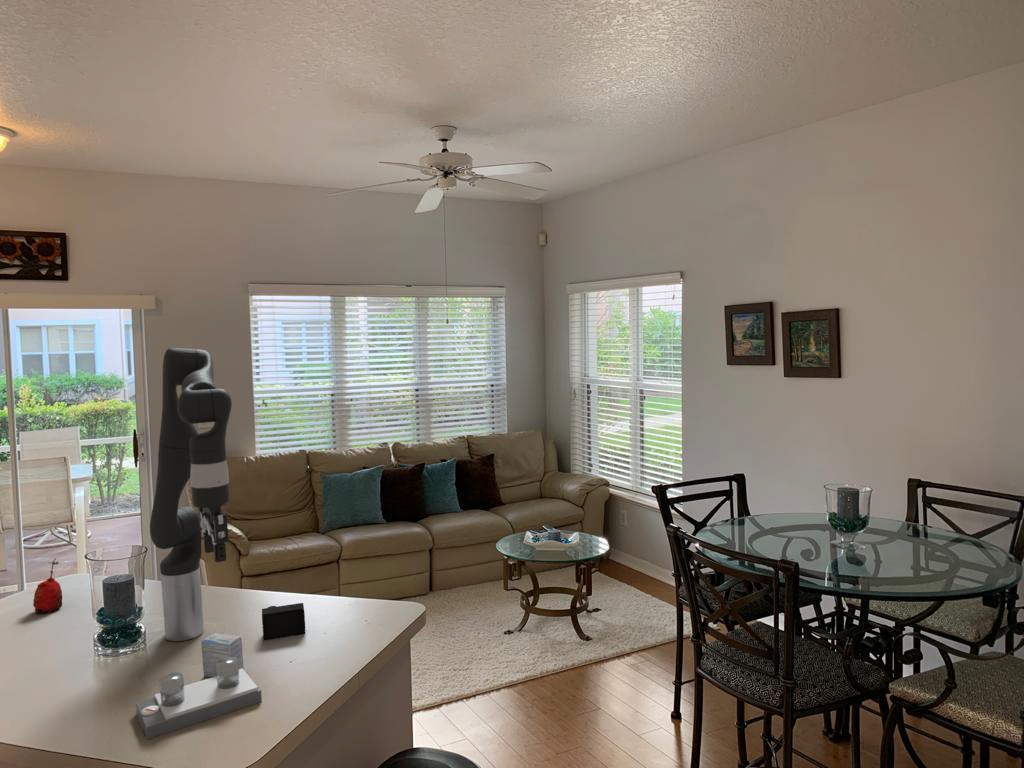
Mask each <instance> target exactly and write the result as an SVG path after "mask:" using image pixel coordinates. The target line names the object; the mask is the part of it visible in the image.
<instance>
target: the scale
mask: <svg viewBox="0 0 1024 768" xmlns="http://www.w3.org/2000/svg"><path fill="white" fill-rule="evenodd" d="M239 681H240V682H239V684H238V685H237V686H235V687H233V688H229V689H220V688H218V686H217V676H215V677H209V678H205V679H202V680H199V681H196V682H192V683H189V684H186V685H185V684H184V692H185V700H184V701H183V702H182V703H180V704H178V705H176V706H172V707H164V706H162V704H161V693H160V692H159V693H155V694H154V696H153V697H150V698H146V699H143V700H140V701H136V702H135V708H136V710H135V711H136V716H137V718H138V720H139V722H140V724H141V727H142V730H143V731H144V734H145V736H146V739H147V740H150V739H152V738H155V737H156V738H157V737H158V736H161V735H164V734H168V733H170V732H174V731H176V730H179V729H182V728H186V727H188V726H191V725H195V724H198V723H200V722H203V721H206V720H210V719H212V718H213V719H214V718H216V717H218V716H221V715H225V714H228V713H230V712H231V713H232V712H234V711H237V710H239V709H242V708H246V707H249V706H252V705H255V704H258V703H262V702H263V699H262V698H263V697H262V690H261V689H260V687H259V686H258V685H257V684H256V682H255V681H254V680H253V679H252V677H251V676H250V675H249V674H248V672H247V671H246V670H245V668H244V669H243V668H242V669H239Z"/></svg>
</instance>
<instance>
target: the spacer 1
mask: <svg viewBox="0 0 1024 768" xmlns="http://www.w3.org/2000/svg"><path fill="white" fill-rule="evenodd" d="M158 682H159V691H160V692H159V693H161V704H162V706H164V707H172V706H176V705H178V704H180V703H182V702H183V701H184V700H185V692H184V686H185V682H184V674H183V673H182V672H176V671H175V672H170V673H167V674H165V675H163V676H162V677H161V676H160V678H159V681H158Z"/></svg>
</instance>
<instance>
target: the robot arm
mask: <svg viewBox="0 0 1024 768" xmlns="http://www.w3.org/2000/svg"><path fill="white" fill-rule="evenodd" d="M162 359H163V361H162V409H161V410H162V411H161V420H160V422H161V423H160V432H159V441H158V452H157V453H158V454H157V457H158V458H157V474H156V475H157V476H156V483H155V484H156V486H155V493H154V498H153V505H152V510H151V515H150V521H149V535H150V540H151V542H152V544H153V545H154V546H155V547H156V548H158V549H160V550H169V549H171V551H170V552H169V553H168V554H167V555H166V556H165V557H164V558H163V559H161V561H160V565H159V571H160V582H161V597H162V611H163V621H164V622H163V623H164V635H165V637H164V638H165V639H166V640H167V641H170V642H182V641H187V640H191V639H194V638H195V639H196V638H197V637H199V636H200V635H202V634H203V633H204V632H205V629H204V628H205V627H204V612H203V611H204V610H203V595H202V585H201V584H202V583H201V580H202V579H201V570H200V561H201V558H202V552H203V551H202V539H203V548H204V552H205V553H206V554H209V553H213V558H214V562H215V563H222V562H225V561H227V551H226V544H227V543H228V542H229V540H230V539H229V531H228V530H229V529H228V527H229V526H228V515H227V513H224V512H222V506H225V505H227V504H229V503H230V502H231V492H230V491H231V490H230V478H229V477H230V476H229V467H228V463H227V453H226V435H227V428H228V423H229V419H230V415H231V411H232V405H233V404H232V398H231V395H230V394H229V392H228V391H227V390H226V389H223V388H216V387H217V386H216V385H215V383H214V382H215V381H214V379H215V378H214V363H213V362H214V361H213V359H212V355H211V354H210V353H209V352H208V351H207V350H204V349H200V348H199V349H198V348H197V349H196V348H195V349H194V348H183V347H182V348H181V347H168V348H167V349H166V350H165V351H164V354H163V358H162ZM178 386H181V387H180V388H181V393H180V394H179V395H178V392H177V387H178ZM205 423H214V424H213V426H212V427H211V429H209V430H208V431H205V432H203V433H199V432H198V430H197V428H196V427H195V425H196V424H205ZM194 424H195V425H194ZM189 480H190V489H191V491H190V492H191V503H192V506H193V507H194V508H197V509H198V513H197V511H196V510H195V509H194V508H193V507H191V506H186V505H185V506H180V507H179V503H180V499H181V496H182V493H183V490H184V488H185V487H186V485H187V483H188V482H189ZM202 536H203V538H202ZM219 536H221V537H219Z"/></svg>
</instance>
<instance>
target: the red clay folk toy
mask: <svg viewBox="0 0 1024 768" xmlns="http://www.w3.org/2000/svg"><path fill="white" fill-rule="evenodd" d="M56 560H57V558H54V559H53V561H52V562H50V561H48V563H49V564H51V565H52V566H51V570H49V572H50V576H49V578H47V579H46V580H44V581H42V582H40V583H38V584H37V587H36V589H35V591H34V595H33V604H32V606H33V607H34V611H35V614H39V615H40V614H41V613H42V614H47V613H51V612H55V611H56V610H57V611H58V610H59V609H61V608H62V606H63V591H62V590H63V589H62V588H61V585H60V583H59V582H58V581H57V580H56V579H55V577H53V572H54V571H53V569H54V565H59V561H58V560H57V561H56ZM55 561H56V562H55Z"/></svg>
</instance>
